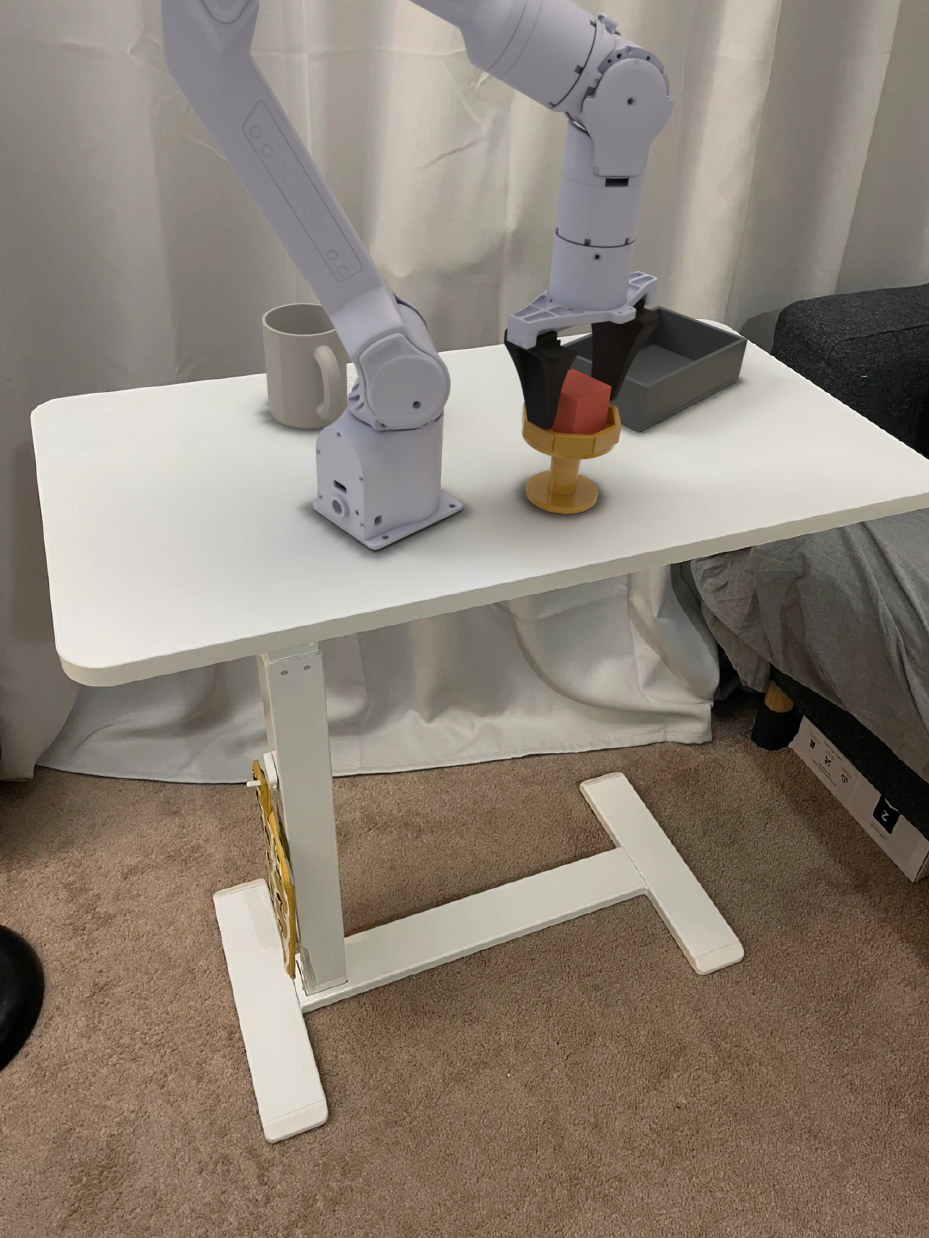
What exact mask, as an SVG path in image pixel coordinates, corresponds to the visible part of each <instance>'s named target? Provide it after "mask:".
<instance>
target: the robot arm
mask: <svg viewBox="0 0 929 1238" xmlns="http://www.w3.org/2000/svg"><path fill="white" fill-rule="evenodd" d="M260 1H261V0H159V5H160V7H159V9H160V25H161V26H160V27H161V44H162V46H161V47H162V56H163V61H164V63H165V65H166V67H167V71H168V72H169V75H170V76H171V78H172V79H173V81H174V82H175V83H176V85H177V87H178V88H179V89H180V91H181V93H182V94H183V96H184V97H185V100H187V102H188V104H189V105H190V107H191V108H192V109H193V111H194V112H195V114H196V115H197V117H198V119H199V120H200V122H201V123H202V124H203V126H204V128H205V129H206V131H207V132H208V134H209V136H210V137H211V138H212V140H213V142H214V144H215V145H216V146H217V148H218V150H219V151H220V152H221V154H222V155H223V157H224V158H225V160H226V162H227V163H228V164H229V166H230V168H231V169H232V171H233V172H234V174H235V175H236V177H237V178H238V180H239V181H240V183H241V184H242V186H243V187H244V189H245V190H246V191H247V194H248V195H249V197H250V198H251V200H252V201H253V203H254V205H255V206H256V207H257V209H258V210H259V212H260V213H261V215H262V216H263V218H264V219H265V221H266V223H267V224H268V226H269V227H270V228H271V230H272V232H273V233H274V235H275V236H276V238H277V240H279V242H280V244H281V246H282V248H283V249H284V250H285V252H286V254H287V255H288V256H289V258H290V260H291V261H292V262H293V264H294V265H295V267H296V268H297V270H298V271H299V273H300V275H301V276H302V277H303V279H304V281H305V283H306V284H307V285H308V287H309V288H310V290H311V291H312V293H313V294H314V296H315V298H316V299H317V301H318V302H319V304H321V305H322V307H323V308H324V310H325V311H326V313H327V314H328V316H329V318H330V320H331V321H332V323H333V325H334V328H335V330H336V332H337V334H338V336H339V338H340V340H341V342H342V344H343V346H344V348H345V350H346V355H347V356H348V357H349V359H350V360H351V362H352V363H353V366H354V368H355V370H356V374H357V378H356V379H355V382H354V383H353V386H352V387H351V390H350V392H349V393H348V394H347V401H348V403H347V408H346V410H345V411H344V413H343V414H342V415H341V416H340V417H339V418H338V419H337V420H336V421H335V422H333V423H332V424H331V425H329V426H327V427H324V428H322V429H321V431H320V432H319V433H318V435H317V438H316V442H315V459H316V479H317V480H316V481H317V484H316V485H317V500H314V501H313V502H312V509H313V510H314V511H316V512H317V513H319V514H320V515H321V516H323V517H324V518H326V519H327V520H329V521H330V522H331V523H333V524H335V526H338V528H340V529H342V530H343V531H344V532H346V533H348V534H349V535H350V536H352V537H353V538H355V539H356V540H357V541H359V542H360V543H362V544H363V545H364V546H366V547H367V548H369V549H371V550H374V551H376V550H380V549H382V548H384V547H387V546H388V545H390V544H394V543H395V542H397V541H399V540H402V539H403V538H406V537H408V536H410V535H411V534H414V533H416V532H419V531H421V530H423V529H425V528H426V527H429V526H431V525H432V524H433V525H434V524H435V523H438V522H439V521H441V520H444V519H445V518H448V517H450V516H452V515H453V514H456V513H458V512H461V511H462V510H463V507H464V505H463V504H464V503H463V502H461V501H460V500H458V499H457V498H455V497H453V496H452V495H450V494H448V493H447V492H445V491H443V490H442V488H441V486H442V485H441V484H442V465H443V464H442V462H443V443H444V441H443V437H444V419H445V416H444V415H445V406H446V404H447V402H448V400H449V397H450V394H451V389H452V388H451V383H452V381H451V374H450V372H449V369H448V367H447V364H446V363H445V362H444V360H443V359H442V358H441V356H440V355H439V352H438V351H437V348H436V346H435V344H434V342H433V340H432V337H431V335H430V332H429V327H428V324H427V322H426V319H425V317H424V315H423V314H422V312H421V311H420V310H419V309H418V308H417V307H416V306H415V305H414V304H412V303H410V302H408V301H407V300H405V299H403V298H402V297H401V296H399V295H398V294H397V293H396V292H395V291H394V289H393V288H392V286H391V284H390V283H389V281H388V279H387V278H386V277H385V275H384V274H383V272H382V271H381V270H380V268H379V267H378V266H377V265H376V262H375V261H374V260H373V258H372V255H371V254H370V253H369V251H368V250H367V248H366V246H365V244H364V243H363V241H362V239H361V237H360V235H358V232H357V231H356V229H355V227H354V226H353V224H352V222H351V221H350V219H349V218H348V216H347V214H346V212H345V210H344V208H343V207H342V206H341V204H340V202H339V201H338V199H337V197H336V196H335V194H334V192H333V190H332V189H331V187H330V186H329V183H328V182H327V180H326V179H325V177H324V175H323V173H322V171H321V170H320V168H319V167H318V165H317V163H316V162H315V160H314V159H313V156H312V155H311V153H310V151H309V150H308V149H307V146H306V145H305V142H303V140H302V138H301V136H300V135H299V133H298V132H297V130H296V128H295V126H294V124H293V123H292V121H291V120H290V118H289V116H288V115H287V113H286V111H285V110H284V108H283V106H282V105H281V103H280V101H279V100H278V97H277V96H276V94H275V93H274V91H273V89H272V88H271V86H270V84H269V83H268V81H267V79H266V77H265V76H264V74H263V73H262V71H261V69H260V67H259V66H258V63H256V61H255V59H254V58H253V55H252V54H251V48H252V43H253V39H254V34H255V28H256V24H257V20H258V15H259V11H260V3H259V2H260ZM408 1H409V2H411V3H412V4H414V5H416V6H418V7H420V8H422V9H424V10H425V11H427V12H429V13H431V14H433V15H434V16H436V17H438V18H439V19H442V20H443V21H445V22H446V23H448V24H451V25H452V26H454V27H456V28H458V29H459V31H460V33H461V36H462V39H463V43H464V48H465V51H466V55H467V58H468V61H469V63H470V64H471V65H472V66H474V67H475V68H477V69H479V70H481V71H483V72H485V73H487V74H488V75H490V76H491V77H493V78H495V79H497V80H499V81H500V82H502V83H503V84H505V85H507V86H508V87H511V88H513V89H514V90H516V91H517V92H519V93H521V94H522V95H524V96H526V97H528V98H530V99H531V100H533V101H534V102H536V103H537V104H540V105H542V106H543V107H544V108H546V109H548V110H550V111H551V112H554V113H563V115H564V116H565V118H566V119H567V123H566V133H565V142H564V150H563V158H562V162H561V170H560V171H561V172H560V178H559V179H560V180H559V187H558V188H559V189H558V200H557V208H556V216H555V217H556V218H555V227H554V236H553V245H552V255H551V263H550V264H551V265H550V271H549V273H550V274H549V283H548V287H547V288H546V289H545V290H544V291H542V292H541V293H540V294H539V295H537V296H536V297H535V298H534V299H532V300H531V301H530V302H529V303H527V304H526V305H525V306H524V307H523V308H521V309H518V310H517V311H515V312H511V313H510V314H508V320H507V321H508V322H507V328H506V329H505V330H504V334H503V344H504V347H505V348H506V350H507V352H508V354H509V356H510V358H511V360H512V362H513V364H514V368H515V371H516V373H517V375H518V378H519V383H520V386H521V392H522V396H523V403H524V402H525V408H526V414H527V420H528V421H529V422H530V423H532V424H534V425H536V426H538V427H540V428H542V429H544V430H548V429H550V428H552V426H553V424H554V421H555V418H556V414H557V409H558V404H559V399H560V394H561V390H562V386H563V383H564V380H565V378H566V375H567V373H568V371H569V369H570V367H571V365H572V363H573V361H574V360H575V358H576V356H577V355H578V354H577V353H576V352H575V351H572V350H570V349H568V348H566V347H564V346H561V344H562V339H560V338H559V339H558V335H559V333H560V332H563V331H566V330H569V329H572V328H574V327H577V326H581V325H589V324H590V327H591V333H592V339H593V356H592V369H591V377H592V378H594V379H596V380H598V381H601V382H603V383H605V384H607V385H609V386H611V393H610V400H609V401H610V402H611V401H613V400H615V399H616V397H617V395H618V393H619V391H620V389H621V386H622V384H623V382H624V379H625V377H626V375H627V372H628V370H629V368H630V366H631V364H632V362H633V360H634V358H635V356H636V354H637V353H638V351H639V349H640V348H641V346H642V345H643V343H644V342H645V340H646V339H647V338H648V336H649V335H650V334H651V333H652V332H653V330H654V329H655V328H656V327H657V324H658V319H659V315H658V314H657V313H656V312H654V311H651V310H649V309H650V308H649V309H648V308H646V307H645V306H648V305H651V304H654V303H655V301H656V295H657V291H658V283H659V277H656V276H654V275H651V274H647V273H645V272H642V271H640V270H637V271H633V272H632V267H633V259H634V253H635V247H636V240H637V235H638V229H639V224H640V223H639V222H640V215H641V209H642V203H643V197H644V191H645V186H646V185H645V184H646V178H647V172H648V162H649V156H650V150H651V149H650V148H651V145H652V144H653V142H654V140H655V139H656V138H657V137H658V136H659V135H660V133H661V132H662V131H663V130H664V128H665V127H666V125H667V124H668V121H669V119H670V117H671V116H672V115H671V114H672V112H673V109H674V105H675V100H674V99H673V98H671V96H670V81H669V76H668V73H667V72H666V71H665V70H664V69H665V66H664V64H663V62H662V61H661V60H660V59H659V58H658V57H657V56H656V55H655V54H654V53H653V52H651V51H649V50H648V49H646V48H644V47H642V46H640V45H638V44H637V43H635V42H633V41H631V40H629V39H628V38H626V37H624V36H622V34H621V32H620V31H619V30H617V28H618V21H617V20H615V19H614V18H612V17H611V16H609V15H608V14H606V13H604V12H601V11H600V12H599V13H598V14H597V17H595V16H594V15H592V14H591V13H589V12H588V11H586V10H585V9H583V8H581V7H580V6H578V5H576V4H575V3H574V2H573V1H570V0H408ZM575 122H576V123H577V124H578V125H577V124H576V123H575Z"/></svg>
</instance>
